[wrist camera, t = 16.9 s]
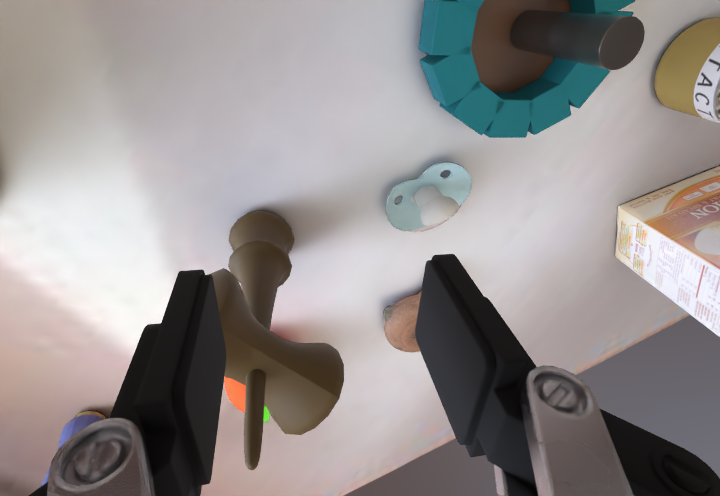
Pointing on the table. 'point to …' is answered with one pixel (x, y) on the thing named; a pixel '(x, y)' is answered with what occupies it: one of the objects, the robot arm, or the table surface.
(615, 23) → the peg stand
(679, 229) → the coffeecake box
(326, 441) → the table surface
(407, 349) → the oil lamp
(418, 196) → the pacifier
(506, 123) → the ring
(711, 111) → the patterned cylinder
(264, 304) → the kendama
